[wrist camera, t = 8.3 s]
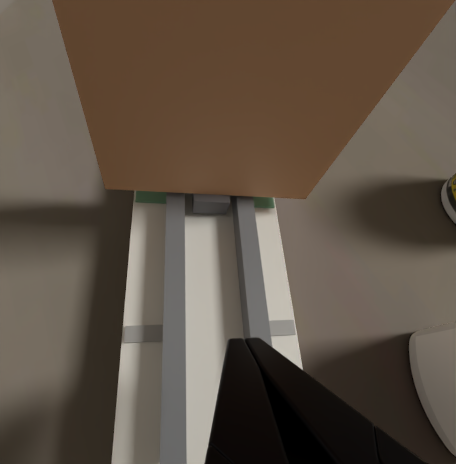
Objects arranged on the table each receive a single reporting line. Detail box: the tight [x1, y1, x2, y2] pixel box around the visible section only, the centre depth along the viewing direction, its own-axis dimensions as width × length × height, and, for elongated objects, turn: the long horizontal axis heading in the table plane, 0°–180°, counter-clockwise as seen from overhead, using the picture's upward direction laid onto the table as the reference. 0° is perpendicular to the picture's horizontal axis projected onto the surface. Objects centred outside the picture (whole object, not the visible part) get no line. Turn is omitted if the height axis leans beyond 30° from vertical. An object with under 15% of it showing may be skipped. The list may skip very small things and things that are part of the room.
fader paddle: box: [52, 0, 455, 214], centre depth 9 cm, size 2×9×13 cm, turn 94°
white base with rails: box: [111, 191, 303, 464], centre depth 14 cm, size 15×7×3 cm, turn 4°
